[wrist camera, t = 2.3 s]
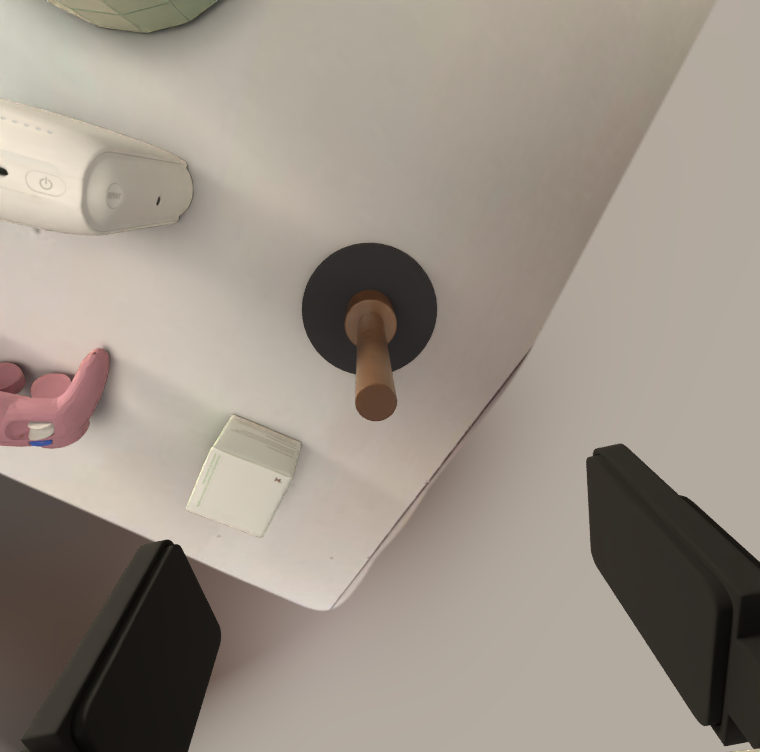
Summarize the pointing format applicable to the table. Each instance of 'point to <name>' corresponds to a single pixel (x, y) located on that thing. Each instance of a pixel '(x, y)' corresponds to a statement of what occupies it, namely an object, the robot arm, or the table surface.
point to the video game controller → (50, 404)
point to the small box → (245, 476)
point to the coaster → (368, 272)
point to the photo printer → (84, 176)
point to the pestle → (372, 352)
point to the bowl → (135, 12)
